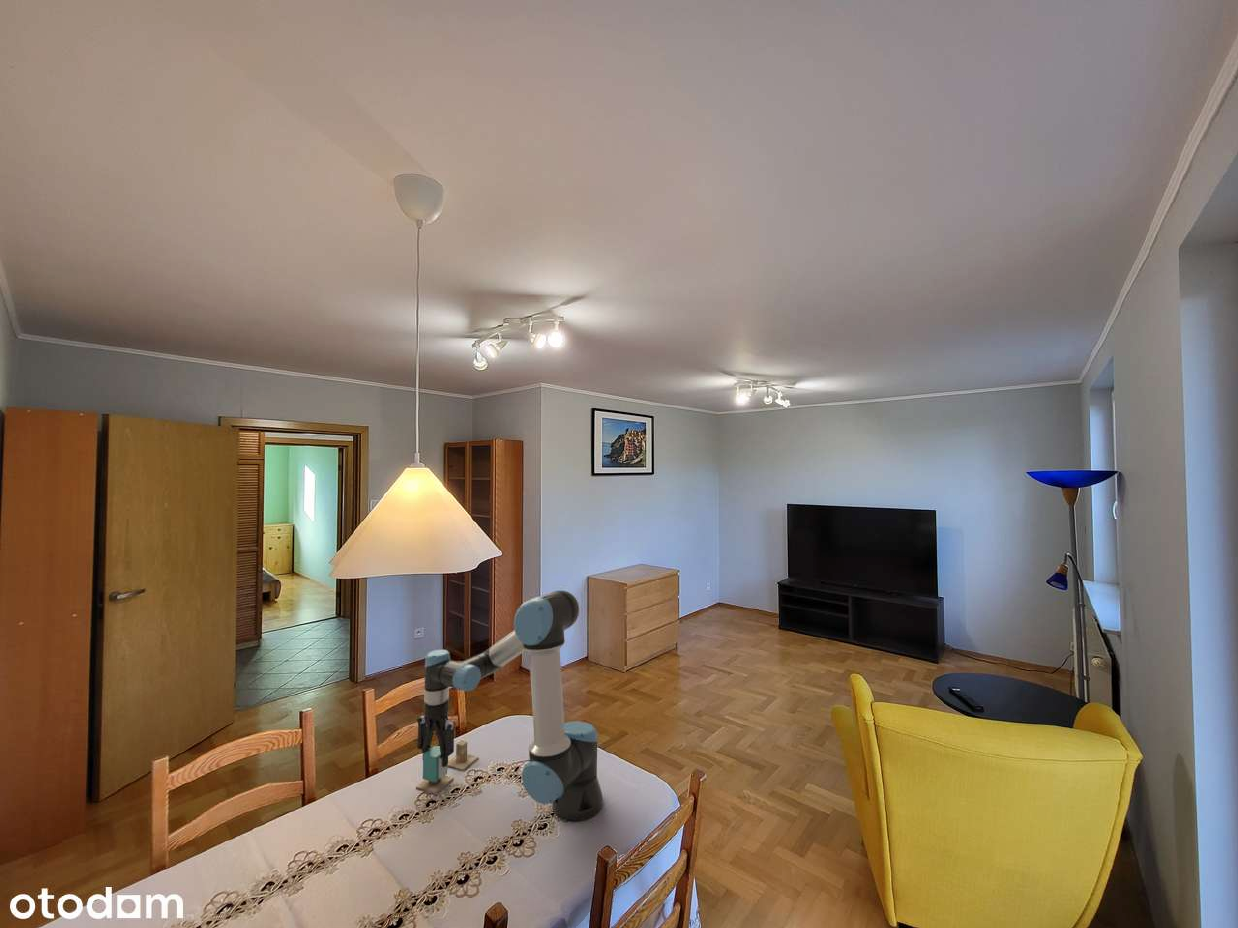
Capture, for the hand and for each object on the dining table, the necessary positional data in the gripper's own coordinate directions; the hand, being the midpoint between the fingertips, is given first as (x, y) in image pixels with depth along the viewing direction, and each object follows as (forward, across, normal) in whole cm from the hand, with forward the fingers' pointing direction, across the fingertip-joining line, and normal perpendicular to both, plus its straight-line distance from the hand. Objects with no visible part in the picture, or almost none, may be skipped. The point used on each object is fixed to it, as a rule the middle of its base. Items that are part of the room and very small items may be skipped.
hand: (434, 773), depth 154 cm
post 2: (+3, 0, -13) cm, 13 cm away
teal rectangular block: (+1, 0, 0) cm, 1 cm away
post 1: (+3, 0, 0) cm, 3 cm away
